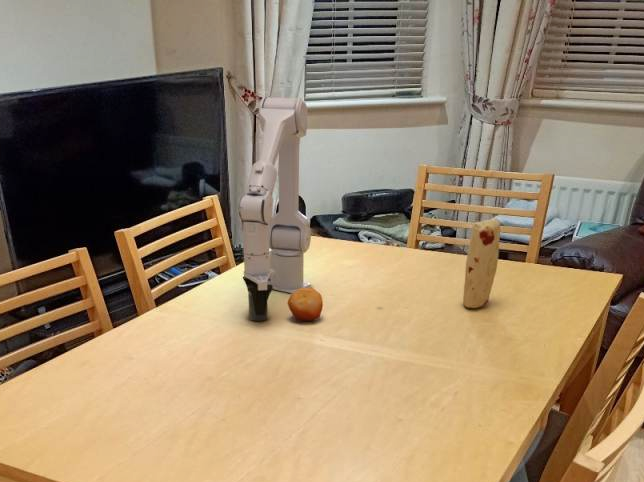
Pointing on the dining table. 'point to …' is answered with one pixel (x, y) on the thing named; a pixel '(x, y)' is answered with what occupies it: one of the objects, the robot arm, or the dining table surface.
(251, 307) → the salt shaker
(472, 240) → the food model
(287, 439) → the dining table surface
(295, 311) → the fruit
